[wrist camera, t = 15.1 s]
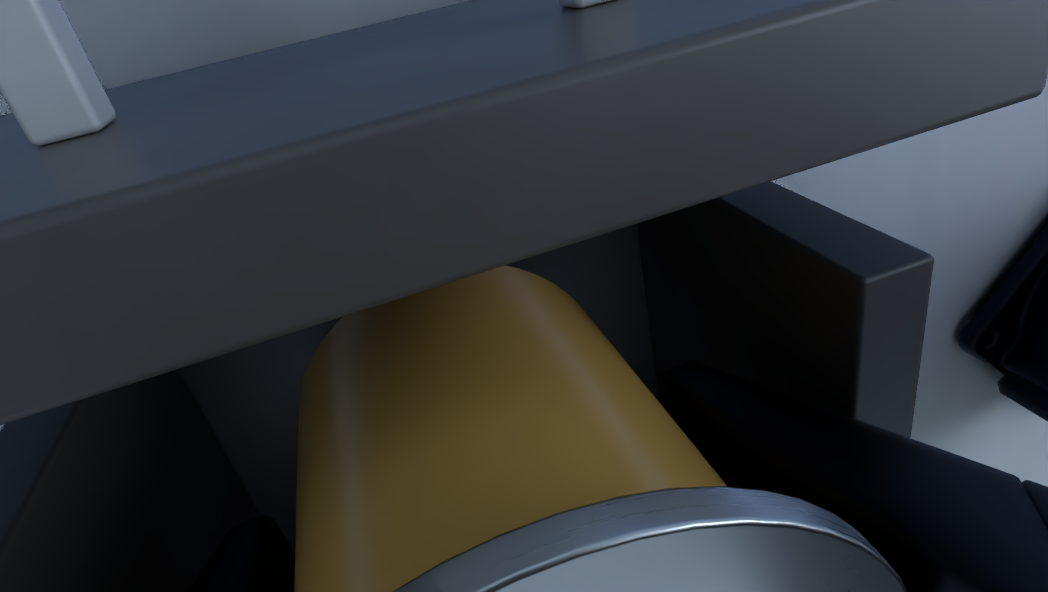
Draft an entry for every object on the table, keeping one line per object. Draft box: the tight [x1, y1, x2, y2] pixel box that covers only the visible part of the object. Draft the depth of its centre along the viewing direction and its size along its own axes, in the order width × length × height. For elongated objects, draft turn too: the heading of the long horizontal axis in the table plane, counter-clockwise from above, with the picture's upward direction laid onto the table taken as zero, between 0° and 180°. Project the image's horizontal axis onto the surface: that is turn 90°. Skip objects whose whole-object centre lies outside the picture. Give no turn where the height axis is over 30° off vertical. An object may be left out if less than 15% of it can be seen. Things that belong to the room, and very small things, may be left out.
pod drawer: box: [0, 0, 1048, 592], centre depth 8 cm, size 17×10×6 cm, turn 11°
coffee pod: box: [294, 265, 907, 592], centre depth 6 cm, size 5×5×5 cm
